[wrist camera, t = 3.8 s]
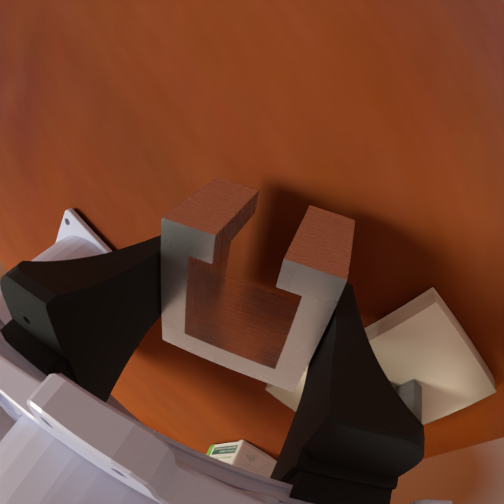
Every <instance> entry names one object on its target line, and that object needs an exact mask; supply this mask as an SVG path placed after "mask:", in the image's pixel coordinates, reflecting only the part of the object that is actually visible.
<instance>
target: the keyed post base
mask: <svg viewBox="0 0 504 504" xmlns="http://www.w3.org/2000/svg"><path fill="white" fill-rule="evenodd" d="M364 329H365V332H366V335H367V337H368V340H369V342H370V345H371V347H372V349H373V352H374V354H375V356H376V358H377V360H378V362H379V364H380V366H381V368H382V370H383V371H384V373H385V375H386V376H387V378H388V380H389V381H390V383H391V384H392V386H393V387H394V389H395V390H396V392H397V393H398V395H399V396H400V397H401V399H402V400H403V402H404V403H405V404H406V406H407V407H408V408H409V409H410V410H411V411H412V413H413V414H414V415H415V416H416V417H417V418H418V420H419V421H420V422H421V423H422V424H423V425H424V424H426V423H429V422H432V421H434V420H437V419H439V418H442V417H444V416H446V415H449V414H451V413H453V412H456V411H458V410H460V409H463V408H465V407H467V406H469V405H471V404H473V403H475V402H478V401H480V400H482V399H484V398H486V397H488V396H490V395H492V394H493V393H495V392H496V386H495V381H494V377H493V375H492V374H491V372H490V370H489V369H488V367H487V365H486V364H485V362H484V360H483V359H482V357H481V356H480V354H479V352H478V351H477V349H476V348H475V346H474V345H473V343H472V342H471V340H470V339H469V337H468V335H467V334H466V332H465V331H464V330H463V328H462V327H461V325H460V324H459V322H458V321H457V319H456V318H455V316H454V315H453V314H452V312H451V311H450V309H449V308H448V307H447V305H446V304H445V302H444V301H443V300H442V298H441V297H440V295H439V294H438V293H437V291H436V290H435V289H434V287H432V288H430V289H429V290H427V291H426V292H424V293H422V294H421V295H419V296H418V297H416V298H415V299H413V300H411V301H410V302H408V303H407V304H405V305H403V306H402V307H400V308H398V309H397V310H395V311H394V312H392V313H390V314H389V315H387V316H385V317H383V318H382V319H380V320H378V321H377V322H375V323H373V324H371V325H370V326H368V327H366V328H364ZM307 369H308V366H307V368H306V370H305V372H304V374H303V376H302V377H301V379H300V381H299V383H298V385H297V387H296V389H295V391H294V392H292V391H289V390H286V389H283V388H280V387H277V386H274V385H271V384H269V383H267V386H266V388H265V390H266V391H268V392H269V393H270V394H272V395H273V396H274V397H276V398H277V399H278V400H280V401H281V402H282V403H284V404H285V405H286V406H288V407H289V408H291V409H292V410H293V411H295V412H296V411H297V408H298V405H299V402H300V399H301V396H302V392H303V388H304V384H305V379H306V374H307Z"/></svg>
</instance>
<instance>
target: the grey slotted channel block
mask: <svg viewBox="0 0 504 504" xmlns="http://www.w3.org/2000/svg"><path fill="white" fill-rule="evenodd" d="M258 195H259V189H256V188H252V187H249V186H245V185H242V184H238V183H235V182H231V181H227V180H224V179H220V178H216V179H214V180H213V181H212V182H210V183H209V184H207V185H206V186H204V187H203V188H202V189H200V190H199V191H197V192H196V193H194V194H193V195H192V196H190V197H189V198H187V199H186V200H185V201H183V202H182V203H181V204H179V205H178V206H176V207H175V208H174V209H172V210H171V211H170V212H168V213H167V214H166V215H164V216H163V217H161V315H162V339H163V340H164V341H166V342H168V343H171V344H173V345H175V346H177V347H179V348H182V349H184V350H186V351H188V352H191V353H193V354H195V355H198V356H200V357H202V358H205V359H207V360H209V361H212V362H214V363H217V364H219V365H221V366H224V367H226V368H229V369H231V370H234V371H237V372H239V373H242V374H244V375H247V376H250V377H252V378H255V379H258V380H260V381H263V382H266V383H269V384H271V385H274V386H277V387H280V388H283V389H286V390H289V391H292V392H294V391H295V389H296V387H297V385H298V383H299V381H300V379H301V377H302V376H303V374H304V372H305V370H306V368H307V366H308V364H309V362H310V360H311V358H312V356H313V354H314V352H315V350H316V348H317V346H318V344H319V341H320V339H321V337H322V335H323V333H324V331H325V329H326V327H327V325H328V322H329V320H330V318H331V316H332V314H333V312H334V309H335V307H336V305H337V303H338V300H339V298H340V296H341V294H342V291H343V289H344V287H345V284H346V282H347V279H348V272H349V265H350V258H351V251H352V243H353V235H354V226H355V220H353V219H351V218H348V217H345V216H342V215H339V214H336V213H333V212H330V211H327V210H324V209H320V208H317V207H314V206H311V205H309V208H308V210H307V212H306V214H305V216H304V218H303V220H302V222H301V224H300V226H299V228H298V230H297V232H296V235H295V237H294V239H293V241H292V243H291V245H290V247H289V249H288V251H287V253H286V255H285V257H284V259H283V263H282V267H281V270H280V274H279V277H278V281H277V285H276V287H277V288H280V289H283V290H286V291H289V292H292V293H294V294H297V295H300V296H302V297H301V300H300V303H299V302H296V301H293V300H291V299H288V298H285V297H282V296H279V295H276V294H273V293H271V292H268V291H265V290H262V289H259V288H256V287H254V286H251V285H248V284H245V283H242V282H240V281H237V280H234V279H231V278H229V277H226V270H227V264H228V257H229V251H230V244H231V241H232V239H233V238H234V237H235V236H236V235H237V233H238V232H239V231H240V230H241V229H242V227H243V226H244V225H245V224H246V223H247V222H248V220H249V219H250V218H251V217H252V216H253V214H254V213H255V210H256V205H257V200H258Z"/></svg>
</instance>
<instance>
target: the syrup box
mask: <svg viewBox="0 0 504 504" xmlns="http://www.w3.org/2000/svg"><path fill="white" fill-rule="evenodd" d="M206 455H208V456H210V457H213V458H215V459H218V460H220V461H223V462H225V463H228V464H231V465H233V466H236V467H239V468H241V469H244V470H247V471H250V472H253V473H256V474H259V475H262V476H265V477H268V478H270V476H271V474H272V472H273V469H274V467H275V465H276V463H277V461H276V460H275V459H273V458H272V457H270V456H269V455H267V454H266V453H264V452H263V451H261V450H259V449H258V448H256V447H254V446H253V445H251V444H250V443H248V442H246V441H245V440H239V441H238V442H229V443H223V444H213V445H211V446H210V448H209V450H208V452H207V454H206Z"/></svg>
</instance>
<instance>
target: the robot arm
mask: <svg viewBox="0 0 504 504" xmlns="http://www.w3.org/2000/svg"><path fill="white" fill-rule="evenodd" d="M160 316H161V235H160V236H158V237H155V238H152V239H149V240H147V241H144V242H141V243H138V244H135V245H132V246H129V247H126V248H123V249H120V250H116V251H112V250H111V249H110V248H109V247H108V246H107V245H106V244H105V243H104V242H103V241H102V240H101V239H100V238H99V237H98V236H97V234H96V233H95V232H94V231H93V230H92V229H91V228H90V227H89V226H88V225H87V224H86V223H85V222H84V221H83V219H82V218H81V217H80V216H79V215H78V214H77V213H76V212H75V211H74V210H73V209H71V208H70V209H68V210H66V211H65V213H64V216H63V220H62V223H61V226H60V229H59V233H58V236H57V240H56V243H55V244H54V245H53V246H51V247H50V248H48V249H47V250H45V251H44V252H43V253H41V254H40V255H38V256H37V257H36V258H34V259H33V260H32V261H22V262H20V263H19V264H18V265H16V266H15V267H14V268H13V269H11V270H10V271H9V272H7V273H6V274H5V275H3V276H2V277H1V280H0V504H390V498H391V492H392V489H395V488H396V486H397V482H398V477H399V476H401V475H402V474H404V473H406V472H407V471H409V470H410V469H412V468H413V467H415V466H416V465H417V464H418V463H419V462H420V461H421V460H422V458H423V457H424V440H425V438H424V425H423V424H422V423H421V422H420V421H419V420H418V418H417V417H416V416H415V415H414V414H413V413H412V411H411V410H410V409H409V408H408V407H407V406H406V404H405V403H404V402H403V400H402V399H401V397H400V396H399V395H398V393H397V392H396V390H395V389H394V387H393V386H392V384H391V383H390V381H389V380H388V378H387V376H386V375H385V373H384V371H383V370H382V368H381V366H380V364H379V362H378V360H377V358H376V356H375V354H374V352H373V349H372V347H371V345H370V342H369V340H368V337H367V335H366V332H365V329H364V326H363V323H362V320H361V317H360V314H359V310H358V307H357V303H356V299H355V295H354V291H353V287H352V285H351V284H348V283H346V284H345V287H344V289H343V291H342V294H341V296H340V298H339V300H338V303H337V305H336V307H335V309H334V312H333V314H332V316H331V318H330V320H329V322H328V325H327V327H326V329H325V331H324V333H323V335H322V337H321V339H320V341H319V344H318V346H317V348H316V350H315V352H314V354H313V356H312V358H311V360H310V362H309V364H308V369H307V374H306V379H305V384H304V388H303V392H302V396H301V399H300V402H299V405H298V408H297V411H296V413H295V416H294V419H293V422H292V425H291V427H290V430H289V433H288V435H287V438H286V440H285V443H284V445H283V448H282V450H281V453H280V455H279V458H278V460H277V463H276V465H275V467H274V469H273V472H272V474H271V476H270V478H268V477H265V476H262V475H259V474H256V473H253V472H250V471H247V470H244V469H241V468H239V467H236V466H233V465H231V464H228V463H225V462H223V461H220V460H218V459H215V458H213V457H210V456H208V455H206V454H203V453H201V452H199V451H196V450H194V449H192V448H190V447H187V446H185V445H183V444H181V443H179V442H177V441H175V440H173V439H170V438H168V437H166V436H164V435H162V434H160V433H158V432H156V431H154V430H153V429H151V428H149V427H147V426H145V425H143V424H141V423H139V422H138V421H136V420H134V419H132V418H130V417H129V416H126V415H125V414H123V413H122V412H120V411H118V410H117V409H115V408H113V407H111V406H110V405H108V404H107V403H106V401H107V400H108V397H109V395H110V393H111V391H112V389H113V387H114V385H115V384H116V382H117V380H118V378H119V376H120V374H121V373H122V371H123V369H124V367H125V365H126V364H127V362H128V361H129V359H130V357H131V356H132V354H133V352H134V351H135V349H136V348H137V346H138V345H139V343H140V341H141V340H142V338H143V337H144V335H145V334H146V333H147V331H148V330H149V329H150V327H151V326H152V325H153V324H154V323H155V321H156V320H157V319H158V318H159V317H160ZM410 504H452V501H450V500H432V499H423V500H418V501H414V502H412V503H410Z"/></svg>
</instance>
